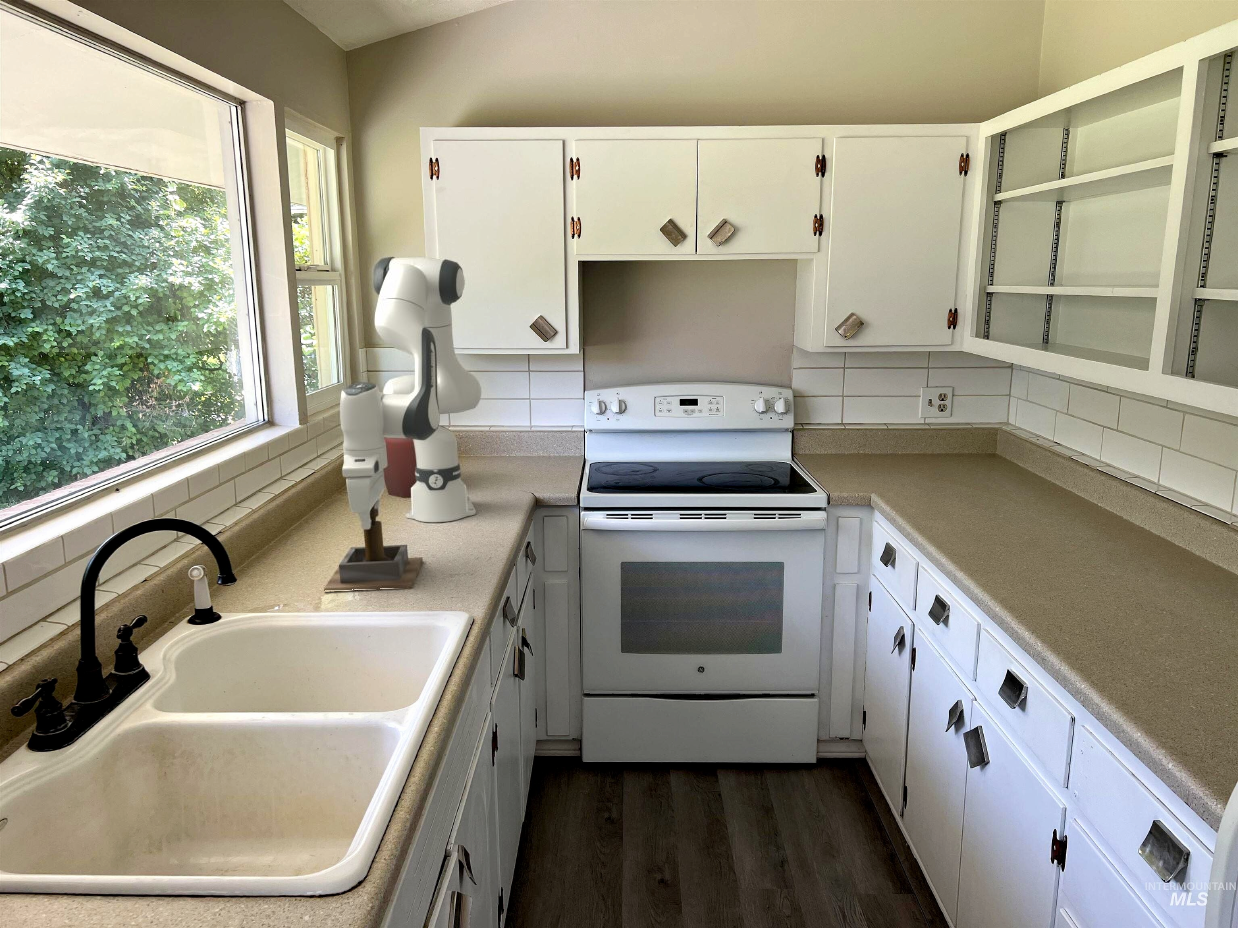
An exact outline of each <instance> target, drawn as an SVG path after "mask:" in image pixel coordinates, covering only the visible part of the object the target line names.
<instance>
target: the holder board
mask: <svg viewBox="0 0 1238 928" xmlns="http://www.w3.org/2000/svg"><path fill="white" fill-rule="evenodd" d="M383 547H384V556H386V557H388V558H389V559H391V561H376V562H362V561H363V560H364V559H365V558H366V551H365V546H351V547H350V548H349V550H348V551H347V553H346V554H345V555H344V557H343V558H342V559H341V561H340V563H339V564H338V567H337V569H336V570H335V571H334V573H333V574H332V575H331V577H330V579H329V581H327V583H325V584H326V585H325V586H324V587H323V592H324V591H325V590H352V589H353V590H354V589H380V588H409V589H413V587H412V586H414V583H415V582H416V580H417V577H418V573H419V571H420V569H421V567H422V564H423V562H424V559H423V557H422V556H420V557H418V556H416V557H415V556H413V557H409V553H408V544H396V545H395V544H394V545H392V544H391V545H383Z"/></svg>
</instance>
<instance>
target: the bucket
mask: <svg viewBox="0 0 1238 928" xmlns="http://www.w3.org/2000/svg"><path fill="white" fill-rule="evenodd" d="M440 426H441V427H443V428H446V429H448V428H447V427H445V426H443V425H440ZM448 430H450V429H448ZM450 431H451V432H452V430H450ZM384 440H385V442H386V453H387V467H386V468H383V472H384V480H385V487H386V488H385V489H386V491H387V493H388V496H392V497H398V498H400V499H401V498H402V499H411V488H412V487H413V485H415V483H416V482H417V480H416V475H415V467H416V466H417V463H416V453H415V446H414V441H413V439H408V438H387V437H384Z"/></svg>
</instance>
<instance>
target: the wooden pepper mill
mask: <svg viewBox="0 0 1238 928" xmlns="http://www.w3.org/2000/svg"><path fill="white" fill-rule="evenodd" d="M376 502H377V501H376ZM375 504H376V503H375ZM375 504H374V505H373V507H372V508H371V510H370V519H371V525H372V526H371V527H370V529H363V538H364V547H365V551H366V558H365V559H364V560H363V561H362V562H376V561H391V559H389V558H388V557H386V556H384V547H383V546H384V538H383V537H384V535H383V526H382V524H383V523H382V521H381V520H377V517H378V516H377V511H375V508H374V507H375ZM376 516H377V517H376Z"/></svg>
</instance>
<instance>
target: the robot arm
mask: <svg viewBox="0 0 1238 928" xmlns="http://www.w3.org/2000/svg"><path fill="white" fill-rule="evenodd" d="M372 273H373V274H372V284H373V285H372V286H373V289H374V292H375V293H376V294H377V295H378V299H377V303H376V307H375V314H374V328H375V330H376V332H377V335H379V337H380V338H381V339H382V340H383V341H384V342H385V343H387V344H388V345H389V346H391V348H394V349H396V350H399V351H402V352H403V353H407V354H409V355H411V356H412V357H413V359H414V374H405V375H400V376H397V377H395V378H390V379H389V380H388V381H387V382H386V383H385V385H384V387H383V390H382V392H381V391H380V389H379V386H378V385H377V384H376V383H374V382H367V381H366V382H364V381H362V382H361V381H360V382H357V383H352V384H349V385H346V386H345V387H344V388H343V389H342V390H341V393H340V400H339V401H340V402H339V416H340V417H339V419H340V428H341V431H342V434H343V443H342V451H343V452H342V453H343V465H342V469H341V471H342V476H343V478H346V480H345V481H346V482H345V483H346V484H345V485H346V491H347V497H348V498H347V499H348V502H349V507H350V510H351V512H352V513H353V514H358V517H359V519H360V523H361V529H362V530H364V529H370V527H371V526H372V525H371V519H370V510H371V508H372V507H373V505H374V504H375V503H376V504H375V507H374V508H375V511H377V516H376V518H377V517H379V515H380V513H381V512H380V502H381V496H382V494H383V492H384V491H385V489H386V488H385V487H386V484H385V480H384V472H383V468H386V467H387V453H386V442H385V440H384V437H387V438H408V439H413V441H414V446H415V453H416V463H417V466H416V467H415V475H416V480H417V482H416V483H415V485H413V487H412V488H411V498H410V500H411V501H410V502H411V509H410V510H408V512H406V514H405V518H407V519H413V520H416V521H418V522H425V523H443V522H451V521H452V522H453V521H457V520H461V519H463V518H465V517H470V516H475V515H476V514H477V511H476V509H475V507H474V505H473V503H472V501H471V499H470V497H469V496H468V491H467V490H468V489H467V485H466V484H465V482H463V480H462V478H461V476H462V473H461V472H462V468H461V464H460V463H459V456H458V453H459V452H458V442H457V437H456V435H455V434H454V432H453V431H452V430H451V431H450V429H449V430H448V428H447V427H445V428H443V427H444V426H443V427H441V426H442V425H440V422H441V421H440V418H441V417H440V415H445V414H446V415H448V414H449V415H450V414H459V413H464V412H467V411H470V410H473V409H474V410H475V409H476V407H477V406H478V405H479V404H480V401H481V397H482V386H481V384H480V382H479V380H478V379H477V377H476V376H475V375H474V374H473V373H471V372H469V371H468V370H467V369H465V367H464V366H462V364H461V362H460V361H459V359H458V357H457V355H456V351H455V346H454V335H453V317H452V307H451V306H452V305H453V304H454V303H456V302H458V301H459V300H460V299H461V298H462V295H463V291H464V290H465V289H464V288H465V283H466V282H465V281H466V280H465V275H464V271H463V268H462V267H461V265H460V264H459V263H458V262H457V261H453V260H451V259H444V260H443V259H439V258H432V257H428V256H427V257H426V256H418V257H417V256H415V257H411V256H410V257H409V256H408V257H405V256H404V257H394V256H387V257H383V258H381V259H379V260H378V261H377V262H376V264H375V266H374V268H373V272H372ZM446 428H447V429H446ZM376 501H377V502H376Z"/></svg>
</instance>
